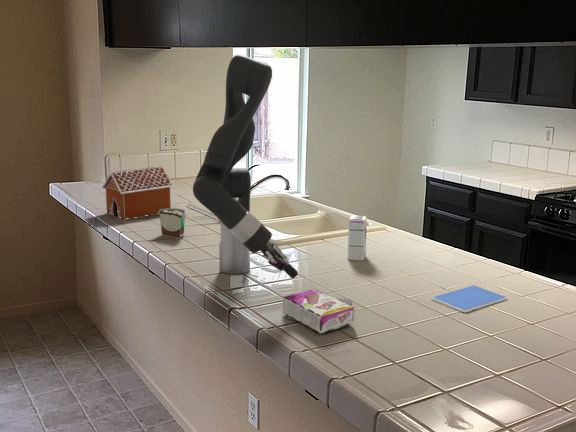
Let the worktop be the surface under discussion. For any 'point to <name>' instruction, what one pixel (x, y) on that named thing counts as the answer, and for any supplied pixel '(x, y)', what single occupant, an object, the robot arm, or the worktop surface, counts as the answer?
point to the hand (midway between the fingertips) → (295, 275)
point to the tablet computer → (469, 298)
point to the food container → (172, 222)
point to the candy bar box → (318, 310)
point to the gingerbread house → (137, 191)
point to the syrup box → (357, 237)
